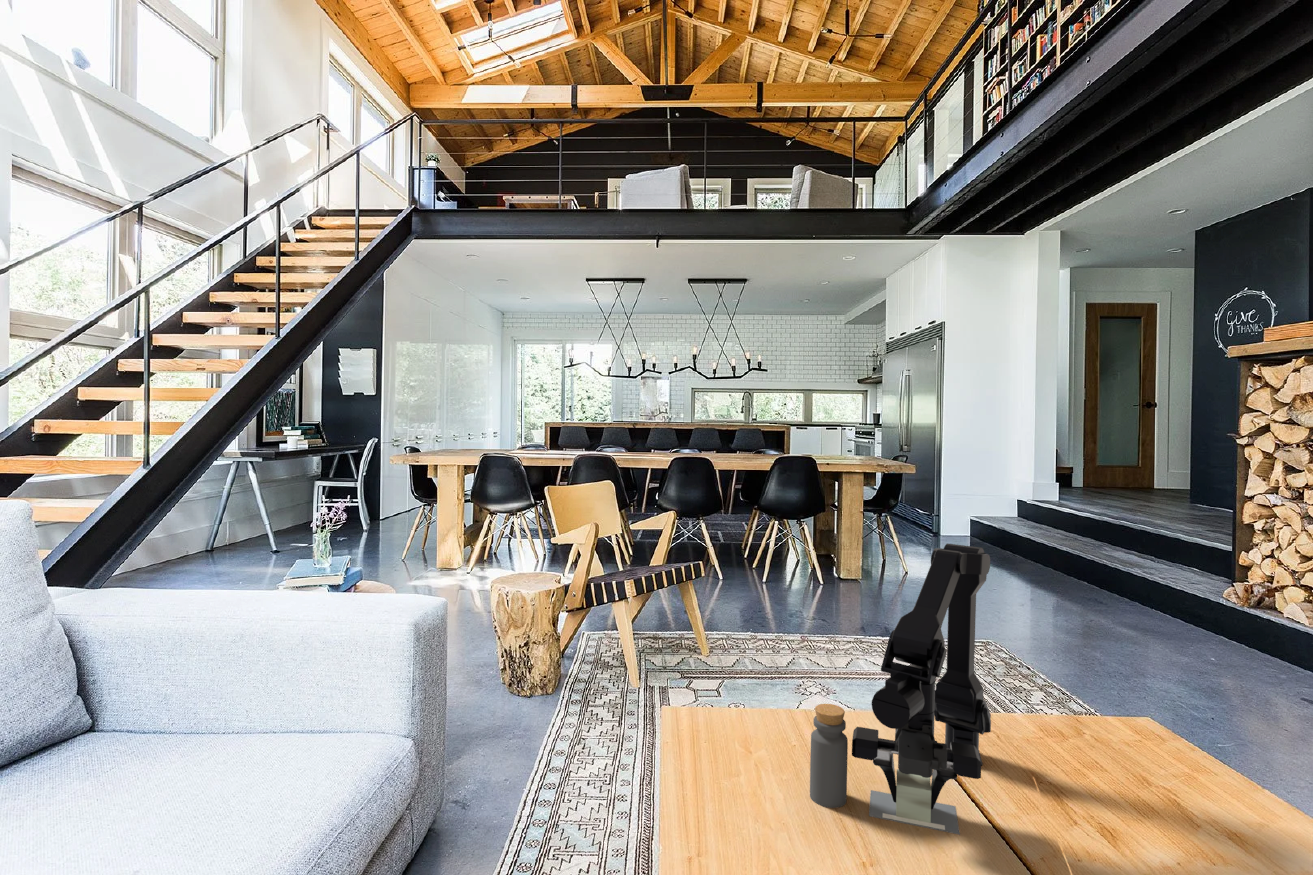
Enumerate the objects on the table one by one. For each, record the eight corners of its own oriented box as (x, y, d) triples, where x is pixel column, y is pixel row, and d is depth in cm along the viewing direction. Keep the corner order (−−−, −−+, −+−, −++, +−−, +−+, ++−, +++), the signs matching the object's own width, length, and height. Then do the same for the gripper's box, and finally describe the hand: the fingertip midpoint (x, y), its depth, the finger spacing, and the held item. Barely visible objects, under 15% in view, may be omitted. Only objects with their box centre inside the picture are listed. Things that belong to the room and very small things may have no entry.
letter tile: (870, 792, 112) (870, 789, 112) (955, 808, 107) (955, 805, 107) (868, 818, 104) (868, 815, 104) (959, 836, 100) (959, 834, 100)
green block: (896, 799, 109) (896, 768, 109) (929, 805, 107) (929, 774, 107) (896, 815, 104) (896, 784, 104) (930, 822, 103) (931, 790, 102)
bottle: (847, 812, 106) (849, 718, 105) (810, 807, 107) (811, 714, 107) (845, 792, 111) (846, 703, 111) (809, 788, 113) (810, 700, 112)
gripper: (850, 718, 101) (848, 819, 101) (986, 739, 95) (984, 847, 95) (854, 690, 111) (852, 783, 112) (977, 708, 105) (975, 806, 105)
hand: (912, 804), depth 106 cm, fingers closed on green block, 5 cm apart
